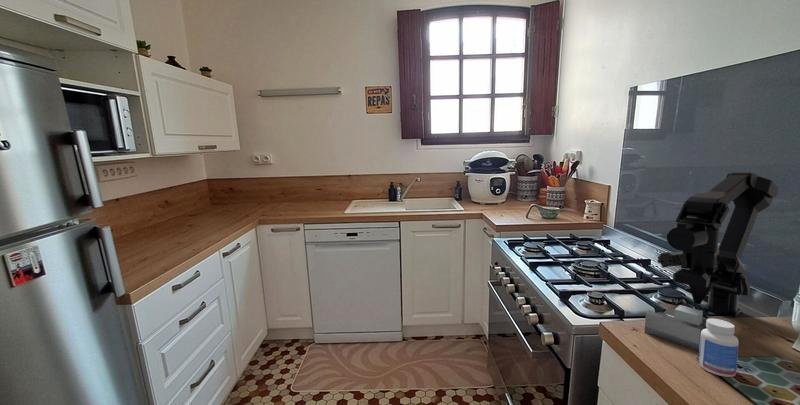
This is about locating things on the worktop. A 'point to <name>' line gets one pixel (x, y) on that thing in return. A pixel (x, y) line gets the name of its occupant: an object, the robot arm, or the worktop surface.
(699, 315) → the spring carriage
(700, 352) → the pill bottle
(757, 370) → the worktop surface
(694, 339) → the gauge base
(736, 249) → the robot arm
